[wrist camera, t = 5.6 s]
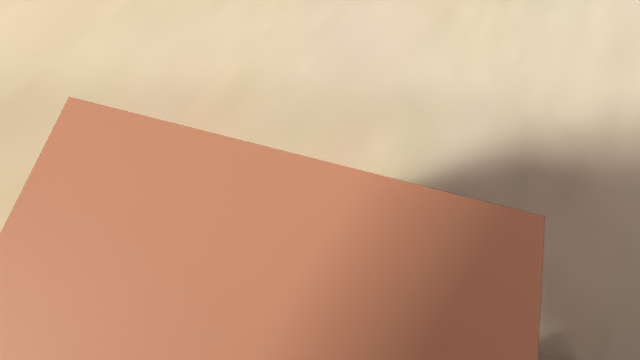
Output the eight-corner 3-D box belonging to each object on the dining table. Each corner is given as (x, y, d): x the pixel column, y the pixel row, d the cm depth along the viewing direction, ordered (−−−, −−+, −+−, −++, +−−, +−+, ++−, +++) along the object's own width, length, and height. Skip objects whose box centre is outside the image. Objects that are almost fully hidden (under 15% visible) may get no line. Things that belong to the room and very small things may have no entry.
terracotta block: (323, 387, 14) (506, 986, 2) (203, 358, 14) (-290, 811, 2) (348, 264, 16) (544, 216, 4) (240, 237, 16) (69, 96, 4)
